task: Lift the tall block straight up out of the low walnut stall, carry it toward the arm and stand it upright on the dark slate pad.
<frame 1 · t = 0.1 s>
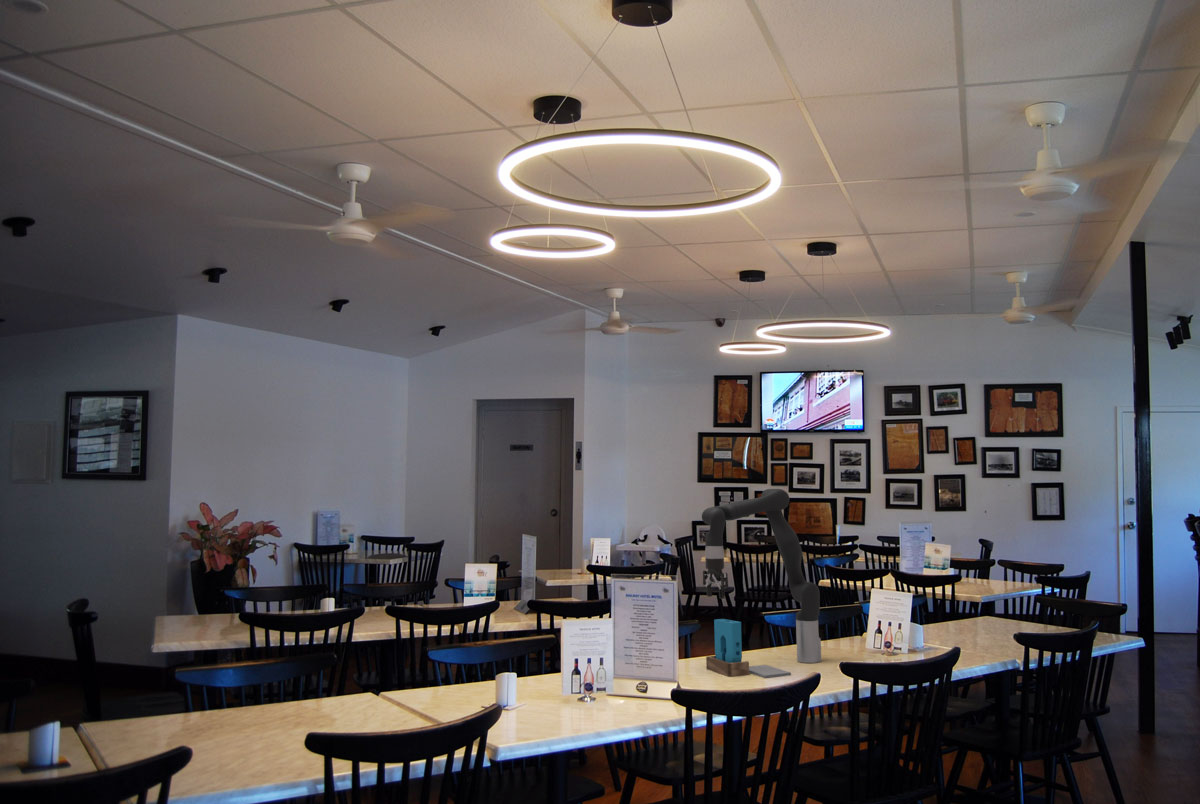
hand: (715, 597, 368), 29 cm above the table, fingers open, 8 cm apart
slate pad: (765, 672, 362), on the table
walnut stall: (728, 671, 364), on the table
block: (728, 672, 364), on the table
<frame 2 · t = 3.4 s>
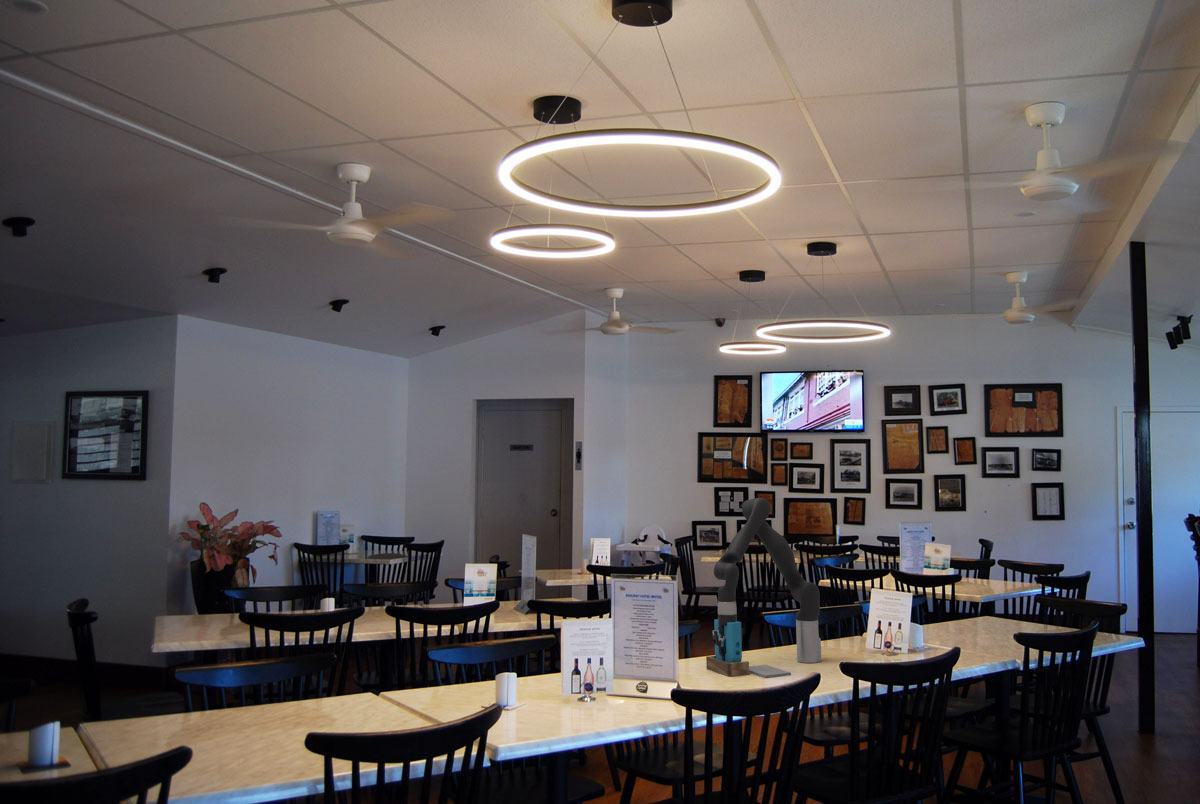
hand: (728, 655, 365), 6 cm above the table, fingers closed on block, 5 cm apart
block: (728, 672, 364), on the table, touching gripper
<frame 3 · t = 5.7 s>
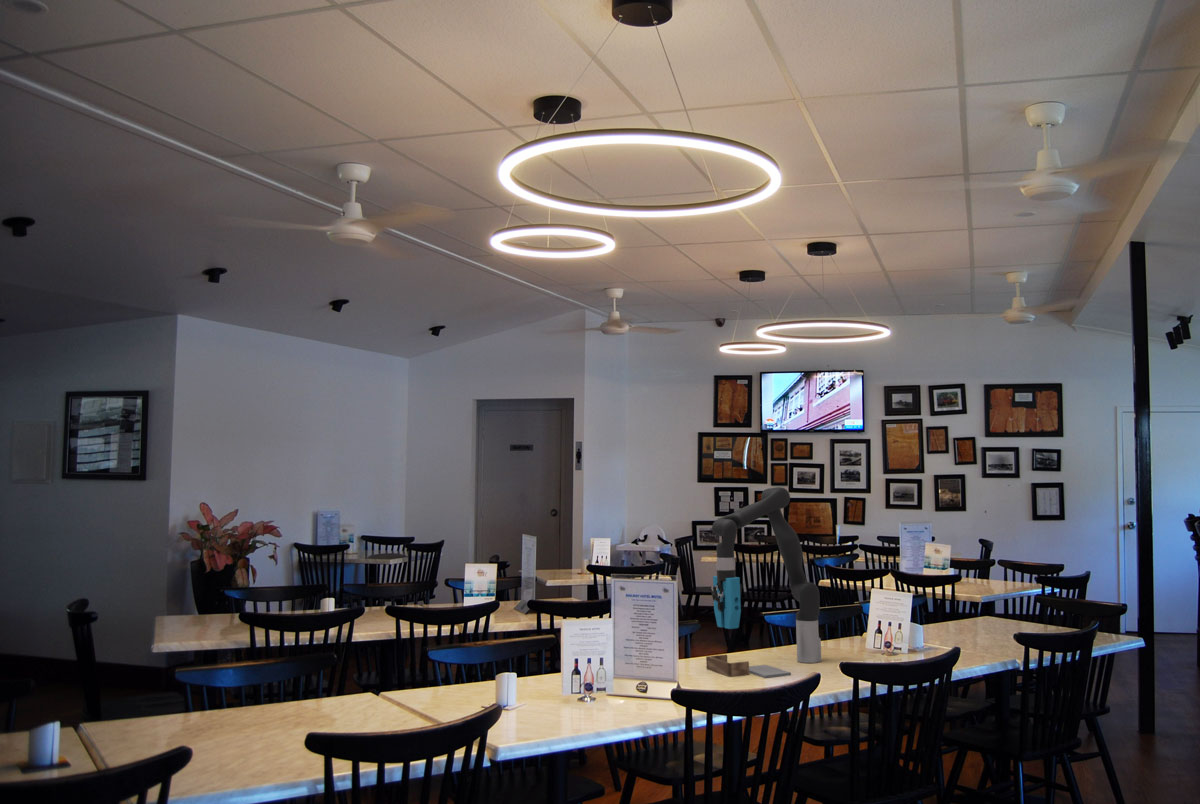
hand: (727, 610, 366), 24 cm above the table, fingers closed on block, 5 cm apart
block: (728, 627, 366), point 17 cm above the table, touching gripper
everything else where it was.
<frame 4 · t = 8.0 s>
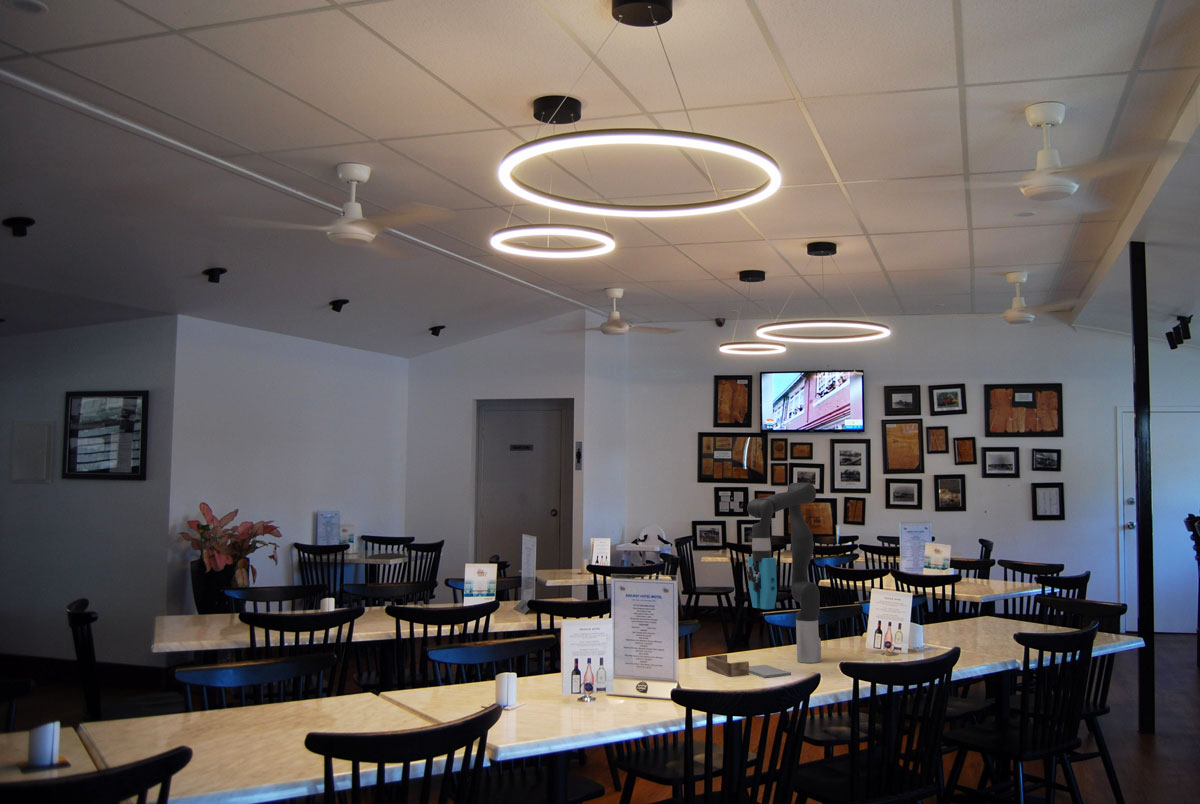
hand: (762, 591, 365), 32 cm above the table, fingers closed on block, 5 cm apart
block: (763, 608, 364), point 25 cm above the table, touching gripper
everything else where it was.
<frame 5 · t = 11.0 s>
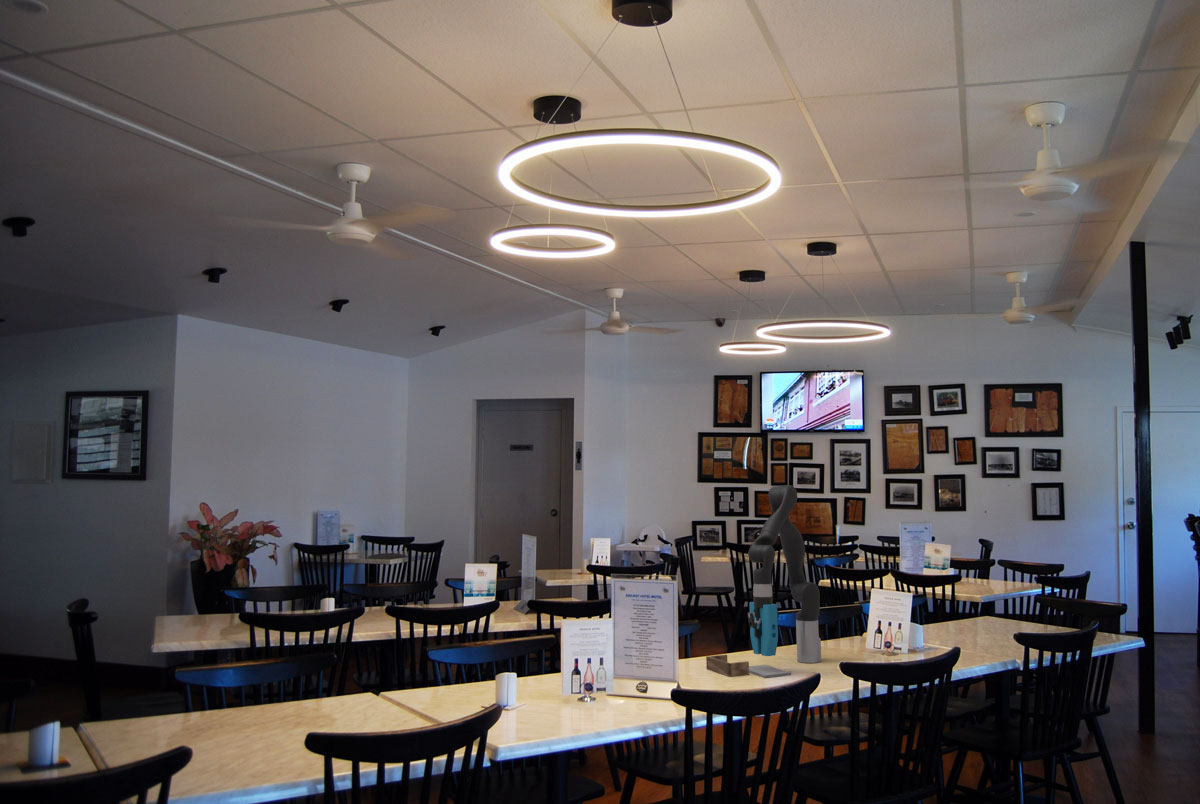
hand: (763, 637, 363), 14 cm above the table, fingers closed on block, 5 cm apart
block: (764, 654, 362), point 7 cm above the table, touching gripper
when the fingers open (8 cm above the table, at t = 12.8 s): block stays where it is, resting on slate pad.
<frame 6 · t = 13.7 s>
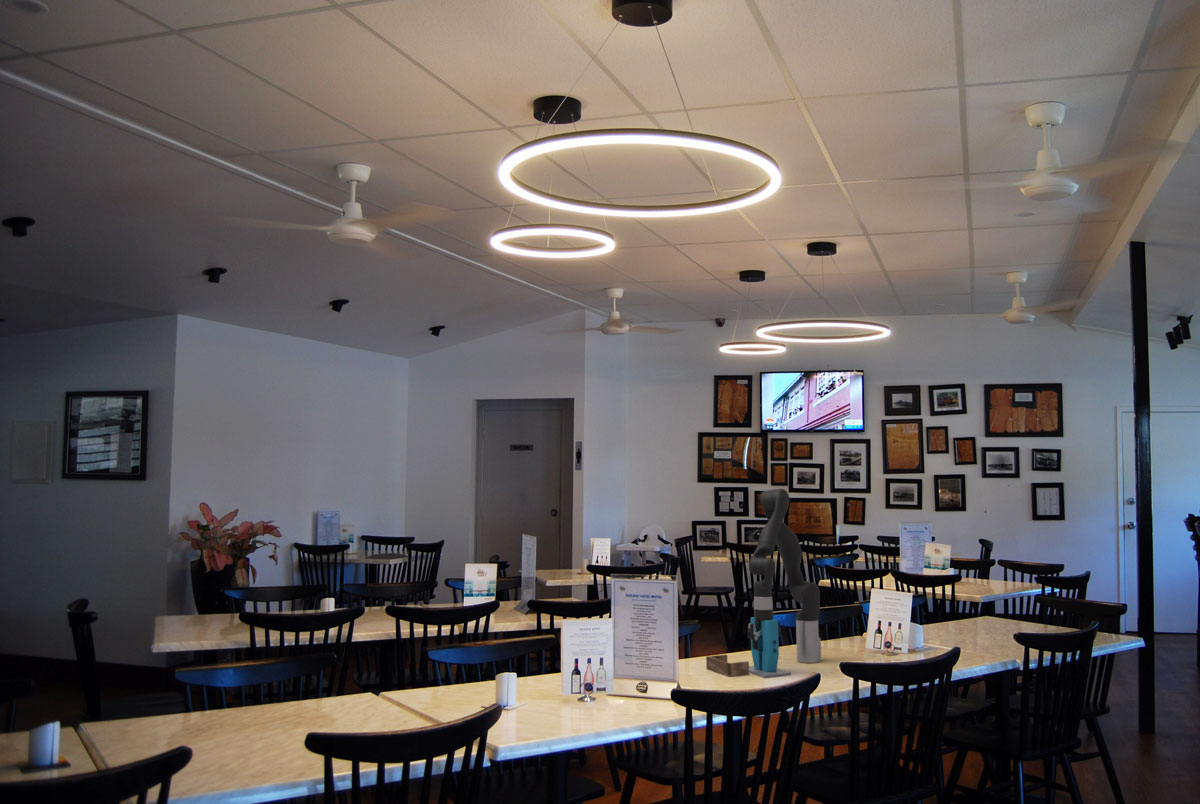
hand: (764, 648, 362), 9 cm above the table, fingers open, 8 cm apart
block: (765, 670, 362), point 1 cm above the table, touching slate pad
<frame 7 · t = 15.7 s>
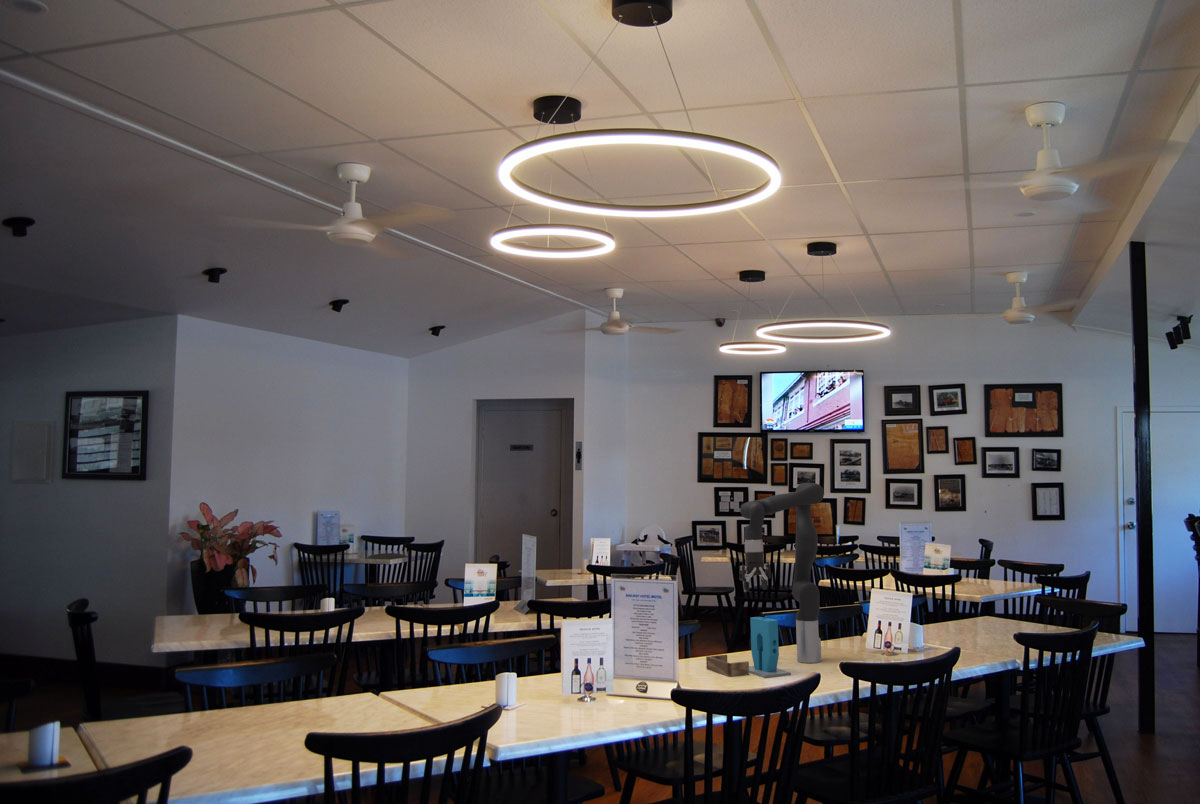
hand: (755, 590, 373), 31 cm above the table, fingers open, 8 cm apart
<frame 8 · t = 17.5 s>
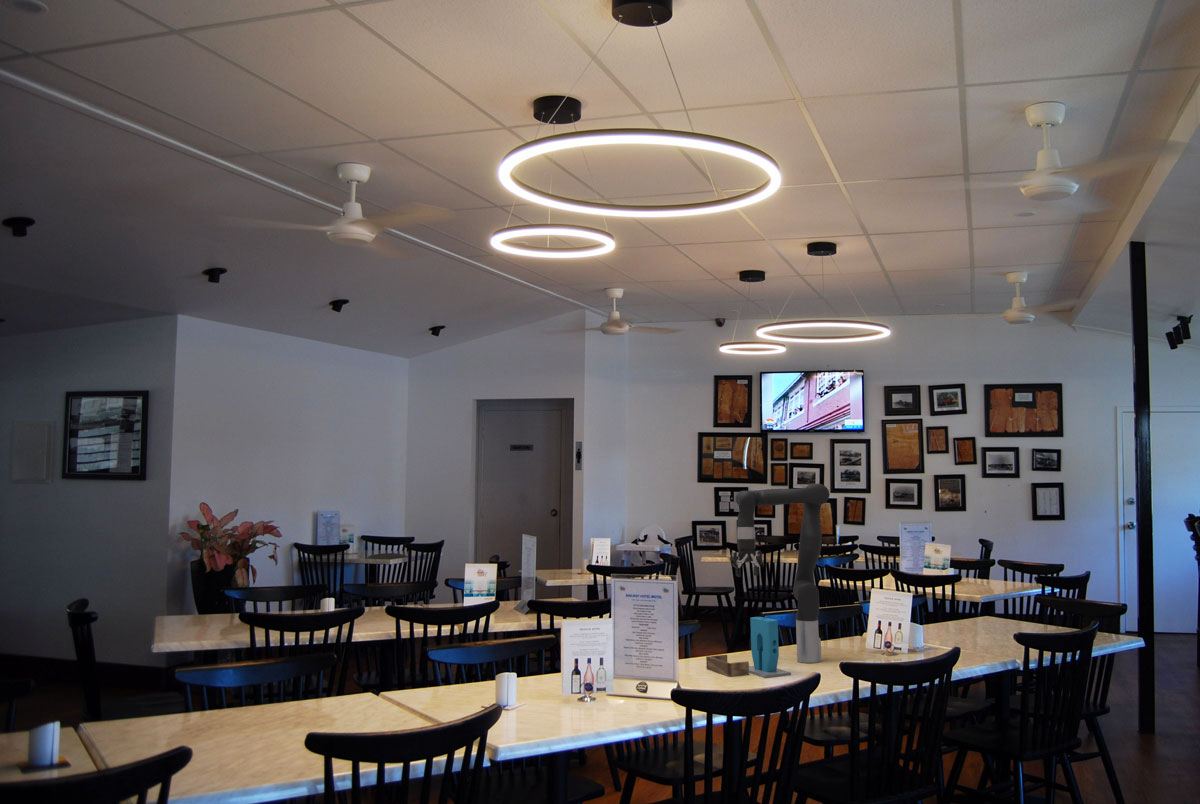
hand: (747, 576, 384), 36 cm above the table, fingers open, 8 cm apart
at the end: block inside the target area on the slate pad (0.2 cm from its centre), point 0.8 cm above the slate pad's base; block tilted 0°; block touching slate pad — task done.
